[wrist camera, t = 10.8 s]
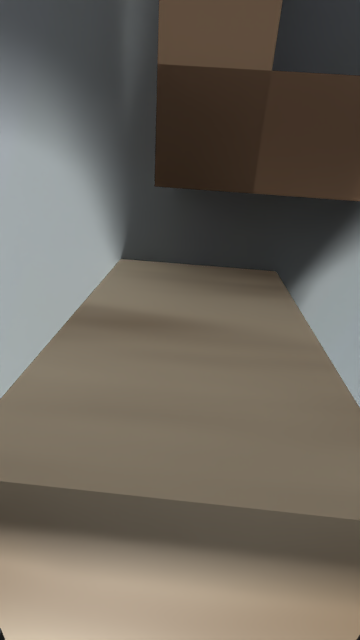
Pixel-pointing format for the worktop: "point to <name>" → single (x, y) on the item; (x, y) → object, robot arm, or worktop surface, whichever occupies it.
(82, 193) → the worktop surface
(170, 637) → the birch block
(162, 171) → the walnut cradle
